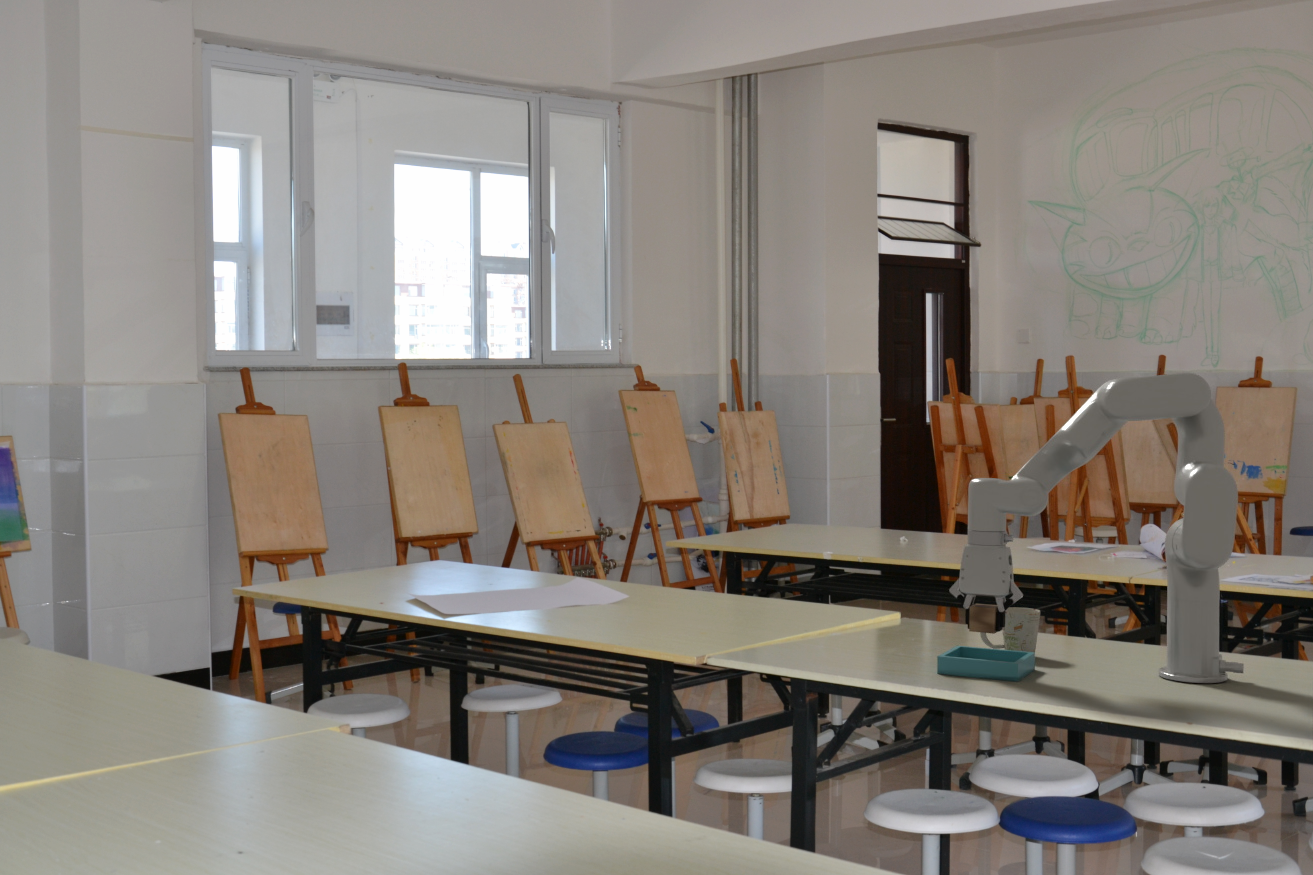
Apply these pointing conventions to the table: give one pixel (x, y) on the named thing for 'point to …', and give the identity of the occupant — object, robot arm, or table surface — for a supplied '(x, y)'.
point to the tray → (986, 663)
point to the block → (983, 618)
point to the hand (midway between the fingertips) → (985, 628)
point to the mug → (1018, 630)
